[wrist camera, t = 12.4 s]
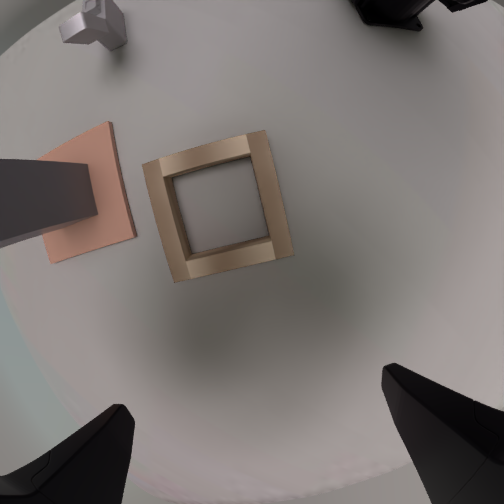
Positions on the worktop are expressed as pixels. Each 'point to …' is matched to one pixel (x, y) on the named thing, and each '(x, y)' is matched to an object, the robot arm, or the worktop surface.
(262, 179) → the wooden square frame
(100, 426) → the robot arm
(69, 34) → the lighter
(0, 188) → the dark grey block
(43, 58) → the worktop surface
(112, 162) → the tile
